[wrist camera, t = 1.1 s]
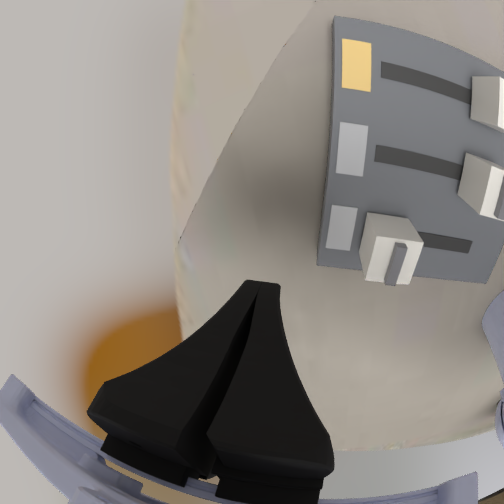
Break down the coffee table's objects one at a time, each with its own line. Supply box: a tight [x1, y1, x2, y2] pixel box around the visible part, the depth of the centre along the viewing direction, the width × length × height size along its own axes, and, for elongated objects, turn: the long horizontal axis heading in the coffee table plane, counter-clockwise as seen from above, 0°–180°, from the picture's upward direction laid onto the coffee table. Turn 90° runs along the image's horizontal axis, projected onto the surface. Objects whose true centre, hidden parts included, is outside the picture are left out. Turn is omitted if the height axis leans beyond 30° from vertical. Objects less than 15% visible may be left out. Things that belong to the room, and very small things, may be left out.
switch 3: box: [457, 153, 504, 221], centre depth 10 cm, size 3×3×4 cm
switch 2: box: [470, 76, 504, 133], centre depth 8 cm, size 3×3×4 cm
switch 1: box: [359, 212, 424, 286], centre depth 14 cm, size 3×3×4 cm
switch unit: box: [317, 16, 504, 284], centre depth 13 cm, size 15×16×2 cm
